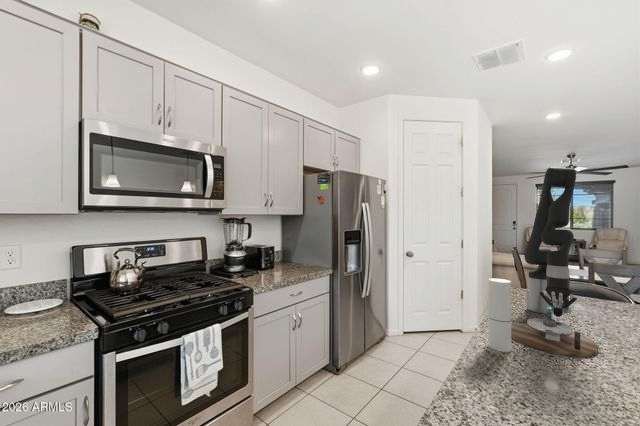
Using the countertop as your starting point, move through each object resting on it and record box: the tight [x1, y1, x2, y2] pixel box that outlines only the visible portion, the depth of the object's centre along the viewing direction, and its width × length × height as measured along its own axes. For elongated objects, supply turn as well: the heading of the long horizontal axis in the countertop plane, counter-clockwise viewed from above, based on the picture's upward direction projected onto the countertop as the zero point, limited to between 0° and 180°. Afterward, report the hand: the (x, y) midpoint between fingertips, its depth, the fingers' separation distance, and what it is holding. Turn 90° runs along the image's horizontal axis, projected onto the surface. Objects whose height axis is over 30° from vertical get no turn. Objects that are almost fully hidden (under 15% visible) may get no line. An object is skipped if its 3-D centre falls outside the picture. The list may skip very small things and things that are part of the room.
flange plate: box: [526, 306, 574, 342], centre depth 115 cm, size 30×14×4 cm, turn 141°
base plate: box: [511, 322, 599, 358], centre depth 113 cm, size 28×28×8 cm
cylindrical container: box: [488, 277, 512, 353], centre depth 107 cm, size 7×7×25 cm
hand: (558, 316), depth 122 cm, fingers closed
